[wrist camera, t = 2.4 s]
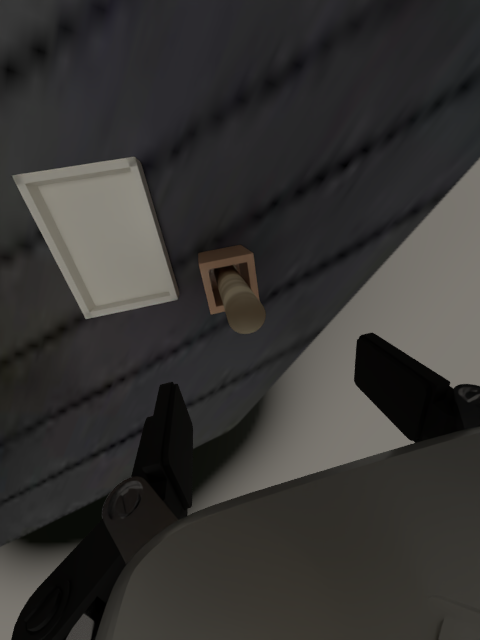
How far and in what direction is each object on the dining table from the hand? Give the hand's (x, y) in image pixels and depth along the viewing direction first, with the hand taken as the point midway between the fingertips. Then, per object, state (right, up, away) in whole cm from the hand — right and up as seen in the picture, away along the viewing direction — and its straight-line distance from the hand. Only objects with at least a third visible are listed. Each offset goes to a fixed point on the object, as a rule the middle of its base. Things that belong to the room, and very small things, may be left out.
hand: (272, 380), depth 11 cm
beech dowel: (-4, +10, +20) cm, 23 cm away
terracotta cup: (-4, +10, +21) cm, 24 cm away
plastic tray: (-18, +13, +18) cm, 28 cm away
